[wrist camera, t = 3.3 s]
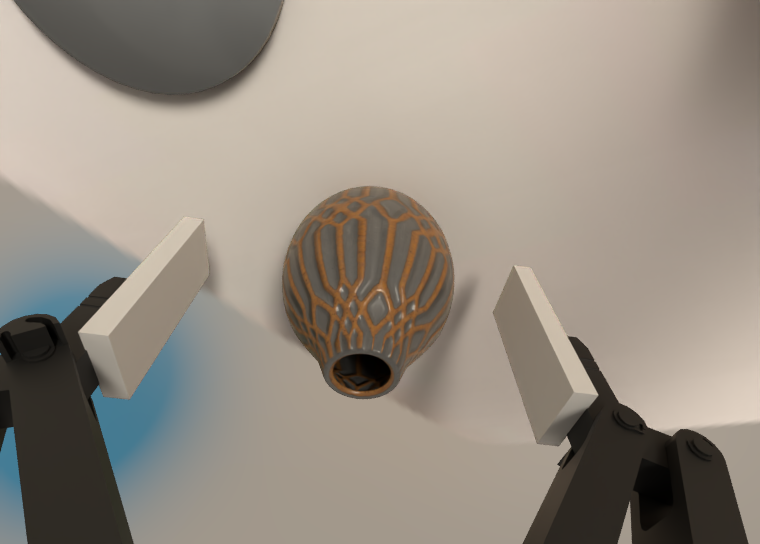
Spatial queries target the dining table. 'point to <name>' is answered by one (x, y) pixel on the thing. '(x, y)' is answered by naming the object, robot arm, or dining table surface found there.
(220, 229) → the dining table surface
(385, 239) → the vase
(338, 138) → the dining table surface
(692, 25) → the dining table surface
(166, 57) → the grey flat disc
